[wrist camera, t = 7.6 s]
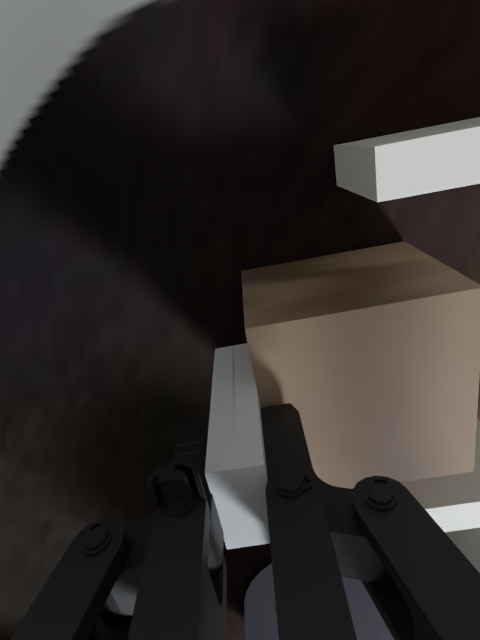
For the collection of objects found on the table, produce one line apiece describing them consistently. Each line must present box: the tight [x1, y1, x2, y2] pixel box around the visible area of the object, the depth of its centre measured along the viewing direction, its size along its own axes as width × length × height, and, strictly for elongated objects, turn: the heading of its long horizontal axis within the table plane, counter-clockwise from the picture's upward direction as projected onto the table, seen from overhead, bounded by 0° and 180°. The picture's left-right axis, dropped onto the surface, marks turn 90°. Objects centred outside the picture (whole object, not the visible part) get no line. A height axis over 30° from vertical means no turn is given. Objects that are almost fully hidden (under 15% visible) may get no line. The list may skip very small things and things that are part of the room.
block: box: [241, 241, 480, 489], centre depth 16 cm, size 7×7×6 cm
